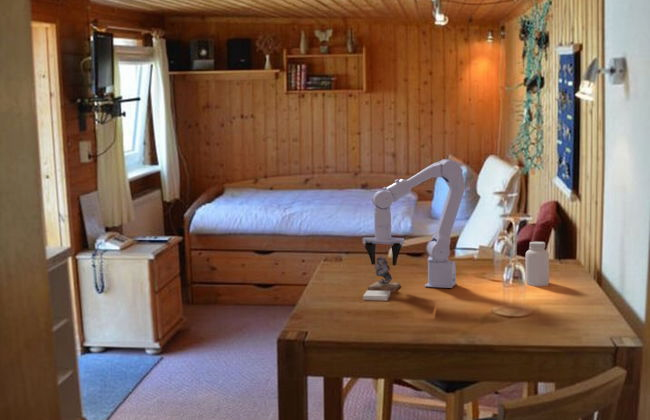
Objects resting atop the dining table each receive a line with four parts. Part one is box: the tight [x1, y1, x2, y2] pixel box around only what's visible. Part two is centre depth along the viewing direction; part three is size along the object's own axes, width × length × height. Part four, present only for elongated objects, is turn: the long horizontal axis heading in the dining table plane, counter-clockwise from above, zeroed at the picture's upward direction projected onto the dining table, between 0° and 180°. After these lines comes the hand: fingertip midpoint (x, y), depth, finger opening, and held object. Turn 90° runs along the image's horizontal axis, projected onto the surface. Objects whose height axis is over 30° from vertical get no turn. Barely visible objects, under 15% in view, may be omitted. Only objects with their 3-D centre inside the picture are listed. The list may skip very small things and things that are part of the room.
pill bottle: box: [525, 241, 550, 287], centre depth 277 cm, size 8×8×15 cm
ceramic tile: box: [362, 289, 391, 302], centre depth 266 cm, size 8×8×2 cm
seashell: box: [374, 255, 393, 284], centre depth 276 cm, size 5×5×10 cm
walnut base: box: [367, 281, 401, 294], centre depth 276 cm, size 9×9×2 cm
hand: (383, 264), depth 275 cm, fingers open, 7 cm apart
